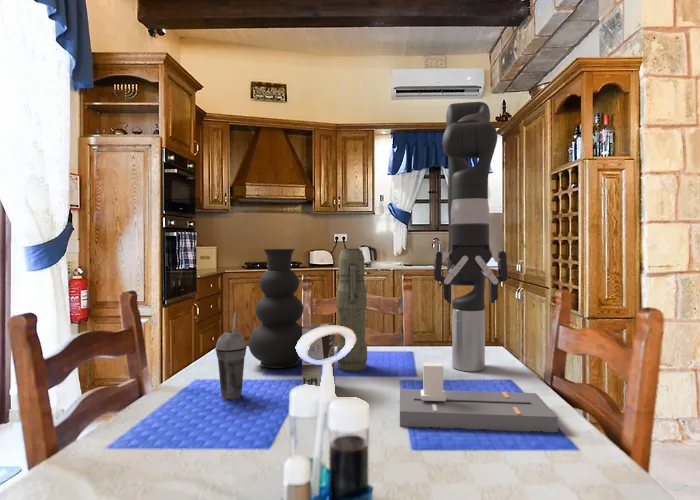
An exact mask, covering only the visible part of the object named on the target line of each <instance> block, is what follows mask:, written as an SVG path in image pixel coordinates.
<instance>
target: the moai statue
mask: <svg viewBox="0 0 700 500" xmlns="http://www.w3.org/2000/svg"><path fill="white" fill-rule="evenodd" d="M365 260H366V259H365V256H364V253H363V250H361V249H360V248H343V249H341V250H340V253H339V257H338V277H339V279H338V285H337V289H336V308H337V313H338V316H337V317H338V319H337V320H338V321H337V322H338V323H337V324H338V325H340V326H345V327H348V328H350V329H352V330H353V331H354V333H355V334H356V337H357V341H356V344H355V346H354V347H353V348H352V349H351V351H350V352H349V353H348V354H347V355H346V356H345V357H343V358H342V359H340V360H338V361H337V367H336V369H338V370H339V371H343V372H349V373H351V372H352V373H354V372H356V373H357V372H361V371H365V370H367V367H368V366H367V365H368V364H367V360H368V346H367V343H366V309H367V306H368V305H367V304H368V303H367V302H368V299H367V298H368V295H367V294H368V293H367V292H368V291H367V286H366V283H365V282H366V281H365V271H366V269H365V264H366V263H365ZM336 344H337V346H336V354H337V353H338V352H339V351H340V350H341V349H342V348H343V347H344V345H345V338H344V337H343V336H341V335H339V334H338V341H337V343H336Z"/></svg>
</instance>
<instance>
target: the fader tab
mask: <svg viewBox="0 0 700 500" xmlns="http://www.w3.org/2000/svg"><path fill="white" fill-rule="evenodd" d="M422 376H423V377H422V389H420V390H421V400H424V401H446V395H445V392H444V390H445V389H444V365H443V363H441V362H440V363H439V362H438V363H437V362H436V363H435V362H423V363H422Z"/></svg>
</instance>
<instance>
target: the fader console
mask: <svg viewBox="0 0 700 500" xmlns="http://www.w3.org/2000/svg"><path fill="white" fill-rule="evenodd" d="M421 390H422V389H412V388H409V389H408V388H399V427H407V428H409V427H410V428H412V427H413V428H429V427H432V429H436V428H437V429H454V428H463V429H462V430H479V429H487V431H505V430H506V431H507V432H510V431H511V432H530V431H538V432H537V433H540V432H539V431H543V432H542V433H555V432H559V428H558V427H559V425H558V423H559V419H558V418H559V417H558V415H557V414H556V413H555V412H554V411H553V410H552V409H551V408H550V407H549V406H548V405H547V403H546V402H545V401H544V400H543V399H542V398H541V397H540V396H539V395H538V394H537V393H536V392H517V391H516V392H515V391H514V392H513V391H511V392H510V391H481V390H479V391H478V390H477V391H475V390H451V389H449V390H445V389H443V390H444V392H445V395H446V401H424V400H421ZM433 427H434V428H433ZM438 427H440V428H438ZM464 428H465V429H464ZM488 429H489V430H488Z"/></svg>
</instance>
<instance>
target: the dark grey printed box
mask: <svg viewBox="0 0 700 500" xmlns="http://www.w3.org/2000/svg"><path fill="white" fill-rule="evenodd" d="M327 325H335V323H334V322H311V323H310V324H308V325H306V326H304V328H302V335H303V334H305V333H307V332H308V331H310V330H312V329H314V328H317V327H321V326H327ZM335 326H336V325H335ZM335 338H336V336H335V334H334V335H328V336H325V337H322V338H320V339H318V340H317V341H315V342H314V343H313V344H312V345H311V346H310V348H309V350H308V355H309V356H310V357H311V358H313V359H316V360H322V359H325V358H328V357H331V356H334V355H335V356H336V354H335V353H336V348H335V347H336V346H335V345H336V343H335ZM335 362H336V361H335ZM335 362H334V363H333V364H332V367H333V376H334V381H335V382H336V371H335V370H336V367H335V365H336V363H335ZM321 375H322V365H315V364H311V363H309V362H306V361H304V360H303V359H302V358H301V386H302V385H303V384H308V385H315V386H320V382H321Z"/></svg>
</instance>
